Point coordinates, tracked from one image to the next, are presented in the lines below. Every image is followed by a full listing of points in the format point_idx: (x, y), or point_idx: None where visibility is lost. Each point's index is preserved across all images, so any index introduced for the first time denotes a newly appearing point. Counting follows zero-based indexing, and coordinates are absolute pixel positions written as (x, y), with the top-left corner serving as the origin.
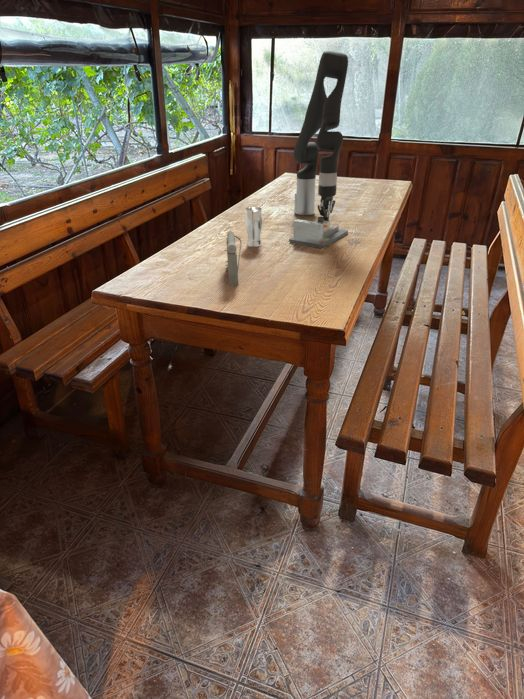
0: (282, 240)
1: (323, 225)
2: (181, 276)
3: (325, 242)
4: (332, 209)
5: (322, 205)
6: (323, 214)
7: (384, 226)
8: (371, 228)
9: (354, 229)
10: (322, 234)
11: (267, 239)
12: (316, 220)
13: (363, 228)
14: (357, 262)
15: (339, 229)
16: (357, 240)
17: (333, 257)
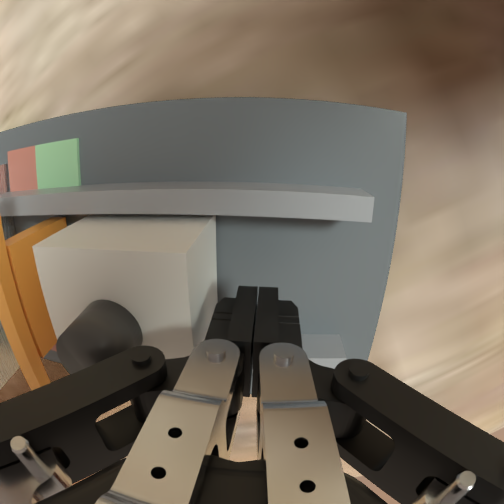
0: (10, 74)
1: (29, 386)
2: None
3: (54, 352)
4: (376, 453)
5: (21, 497)
6: (132, 400)
7: (494, 424)
8: (469, 410)
9: (450, 367)
10: (15, 366)
11: (6, 5)
12: (135, 262)
13: (469, 389)
14: None
15: (364, 346)
16: (249, 440)
17: (15, 388)
